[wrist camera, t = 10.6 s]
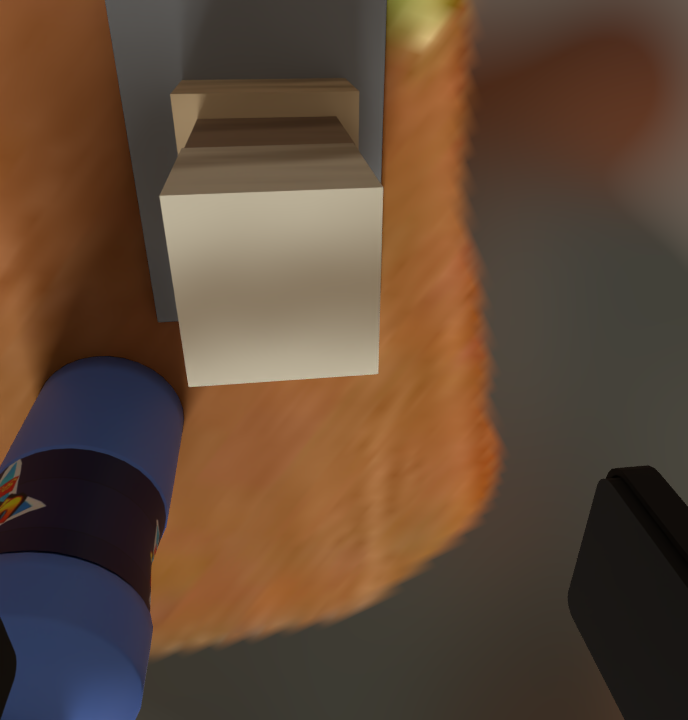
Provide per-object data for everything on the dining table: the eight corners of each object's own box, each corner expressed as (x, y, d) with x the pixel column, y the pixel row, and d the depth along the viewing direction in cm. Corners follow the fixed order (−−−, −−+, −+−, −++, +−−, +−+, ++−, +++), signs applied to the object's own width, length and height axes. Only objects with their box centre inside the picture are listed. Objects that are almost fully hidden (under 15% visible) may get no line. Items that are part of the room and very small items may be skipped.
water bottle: (214, 404, 41) (171, 851, 20) (136, 493, 44) (23, 969, 22) (83, 326, 37) (-148, 777, 16) (7, 430, 40) (-277, 930, 19)
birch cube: (181, 147, 22) (159, 196, 17) (353, 142, 22) (383, 187, 17) (201, 305, 25) (188, 386, 20) (352, 296, 25) (378, 373, 20)
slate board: (101, -42, 28) (97, -43, 28) (384, -40, 30) (387, -41, 29) (159, 316, 37) (157, 322, 37) (374, 305, 39) (376, 310, 38)
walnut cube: (197, 119, 27) (183, 148, 22) (336, 116, 28) (355, 144, 22) (211, 252, 30) (203, 305, 25) (337, 246, 31) (353, 298, 25)
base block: (181, 80, 31) (170, 94, 26) (344, 78, 31) (359, 91, 27) (200, 238, 35) (192, 272, 30) (344, 232, 35) (356, 265, 31)
